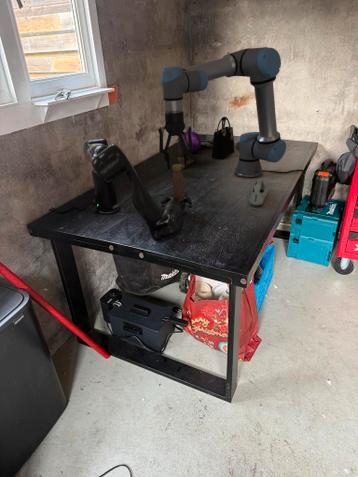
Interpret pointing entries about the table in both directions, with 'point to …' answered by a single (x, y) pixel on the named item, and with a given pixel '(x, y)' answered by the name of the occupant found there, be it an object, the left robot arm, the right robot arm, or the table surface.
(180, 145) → the boot
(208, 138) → the pair of gloves
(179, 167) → the cap
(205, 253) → the table surface
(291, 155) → the table surface
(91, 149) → the left robot arm
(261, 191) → the ballet flat
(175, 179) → the bottle
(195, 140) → the decorative orb
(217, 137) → the handbag
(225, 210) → the table surface
